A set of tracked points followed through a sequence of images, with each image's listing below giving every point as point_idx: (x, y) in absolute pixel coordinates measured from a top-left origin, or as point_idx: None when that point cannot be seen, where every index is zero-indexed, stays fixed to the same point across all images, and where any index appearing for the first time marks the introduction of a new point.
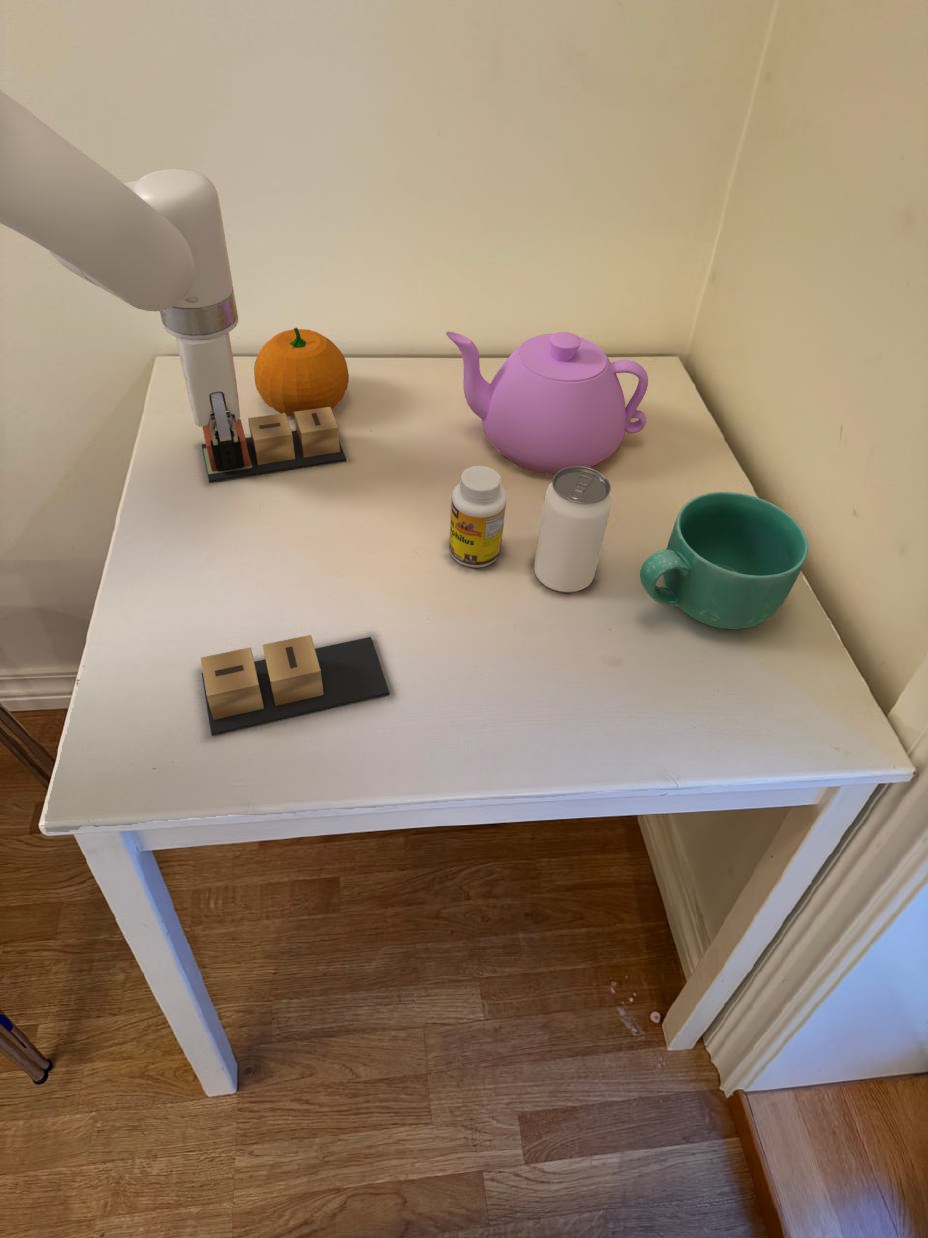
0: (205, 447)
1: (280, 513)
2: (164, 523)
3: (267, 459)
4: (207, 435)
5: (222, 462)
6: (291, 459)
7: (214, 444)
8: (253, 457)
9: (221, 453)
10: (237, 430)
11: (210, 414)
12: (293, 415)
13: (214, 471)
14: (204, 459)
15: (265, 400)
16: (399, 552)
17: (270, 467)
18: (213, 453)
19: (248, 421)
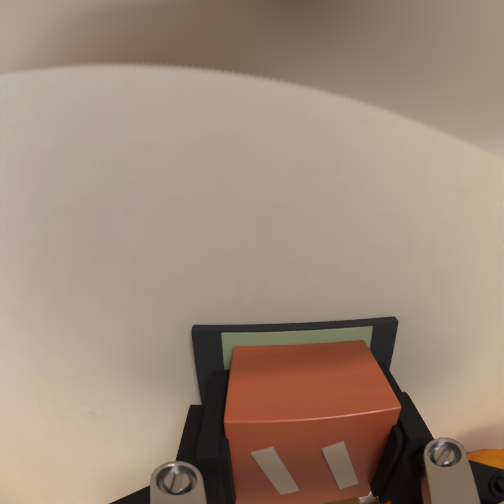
0: (376, 332)
1: (73, 433)
2: (33, 176)
3: None
4: (305, 429)
5: (187, 415)
6: None
7: (155, 473)
8: None
9: (180, 445)
10: (300, 497)
11: (417, 451)
12: (389, 501)
13: (231, 352)
14: (314, 326)
15: None
16: (31, 495)
17: None
18: (204, 418)
19: (356, 498)
